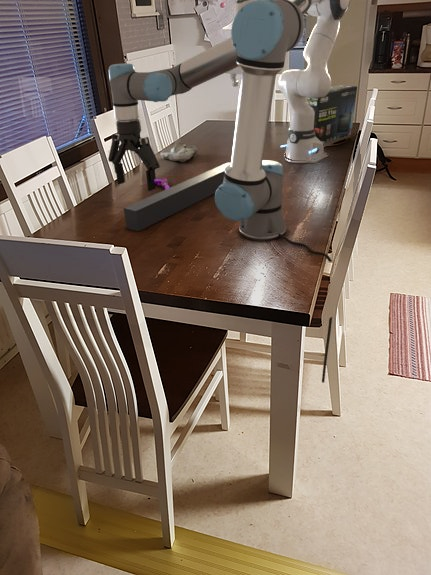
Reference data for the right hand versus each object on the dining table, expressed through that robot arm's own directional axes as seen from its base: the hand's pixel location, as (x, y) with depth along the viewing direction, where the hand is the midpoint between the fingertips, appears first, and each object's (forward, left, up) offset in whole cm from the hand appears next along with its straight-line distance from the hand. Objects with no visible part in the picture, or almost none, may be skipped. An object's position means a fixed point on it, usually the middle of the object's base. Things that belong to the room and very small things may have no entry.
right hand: (244, 87), depth 181 cm
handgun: (+34, -15, -36) cm, 52 cm away
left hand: (+61, +10, -23) cm, 66 cm away
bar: (+35, +5, -36) cm, 51 cm away
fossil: (0, -47, -36) cm, 59 cm away
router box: (-70, -9, -36) cm, 80 cm away
